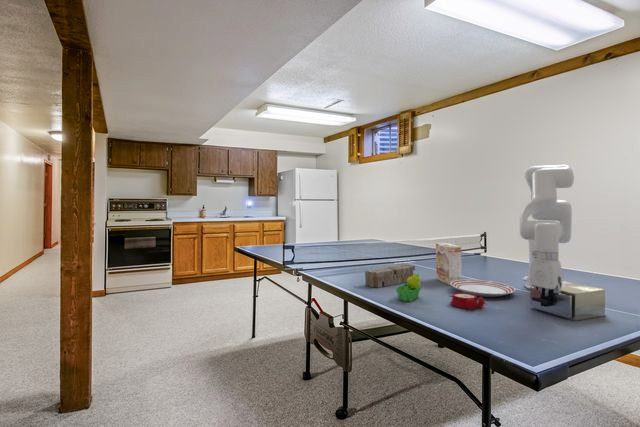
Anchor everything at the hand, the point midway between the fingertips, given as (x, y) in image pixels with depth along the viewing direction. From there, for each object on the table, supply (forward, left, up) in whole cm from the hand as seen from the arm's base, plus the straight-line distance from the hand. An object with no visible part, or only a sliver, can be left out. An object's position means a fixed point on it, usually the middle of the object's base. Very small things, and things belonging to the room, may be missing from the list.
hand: (545, 305), depth 133 cm
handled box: (0, +6, -3) cm, 7 cm away
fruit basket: (-38, -33, -4) cm, 50 cm away
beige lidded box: (0, +11, -4) cm, 12 cm away
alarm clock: (-20, -18, -4) cm, 27 cm away
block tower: (-68, -24, -4) cm, 72 cm away
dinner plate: (-35, +4, -4) cm, 36 cm away
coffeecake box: (-59, +5, -4) cm, 59 cm away
